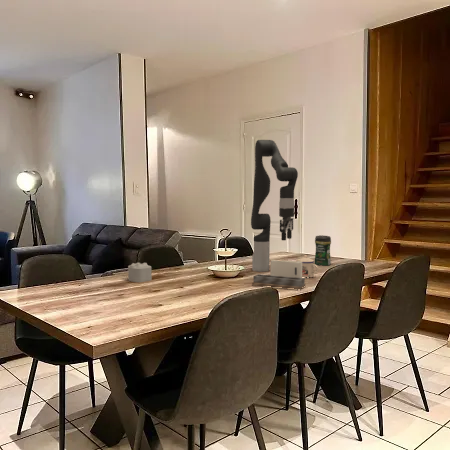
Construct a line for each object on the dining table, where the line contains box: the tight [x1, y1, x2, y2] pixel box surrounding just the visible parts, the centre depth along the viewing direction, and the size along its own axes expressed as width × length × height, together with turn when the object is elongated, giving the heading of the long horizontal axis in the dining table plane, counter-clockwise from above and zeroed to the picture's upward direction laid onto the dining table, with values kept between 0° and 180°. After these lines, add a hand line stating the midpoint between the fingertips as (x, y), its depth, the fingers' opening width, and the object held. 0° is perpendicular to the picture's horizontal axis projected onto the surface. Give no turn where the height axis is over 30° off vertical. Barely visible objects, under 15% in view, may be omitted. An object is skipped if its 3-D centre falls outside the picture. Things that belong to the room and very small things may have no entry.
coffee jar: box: [314, 234, 332, 267], centre depth 280 cm, size 10×8×19 cm
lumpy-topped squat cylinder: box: [127, 262, 153, 283], centre depth 235 cm, size 10×13×9 cm
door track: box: [251, 273, 306, 289], centre depth 218 cm, size 24×9×4 cm, turn 63°
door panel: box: [270, 259, 302, 278], centre depth 227 cm, size 16×3×11 cm, turn 63°
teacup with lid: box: [297, 254, 319, 278], centre depth 240 cm, size 12×9×12 cm
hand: (286, 239), depth 226 cm, fingers open, 8 cm apart
